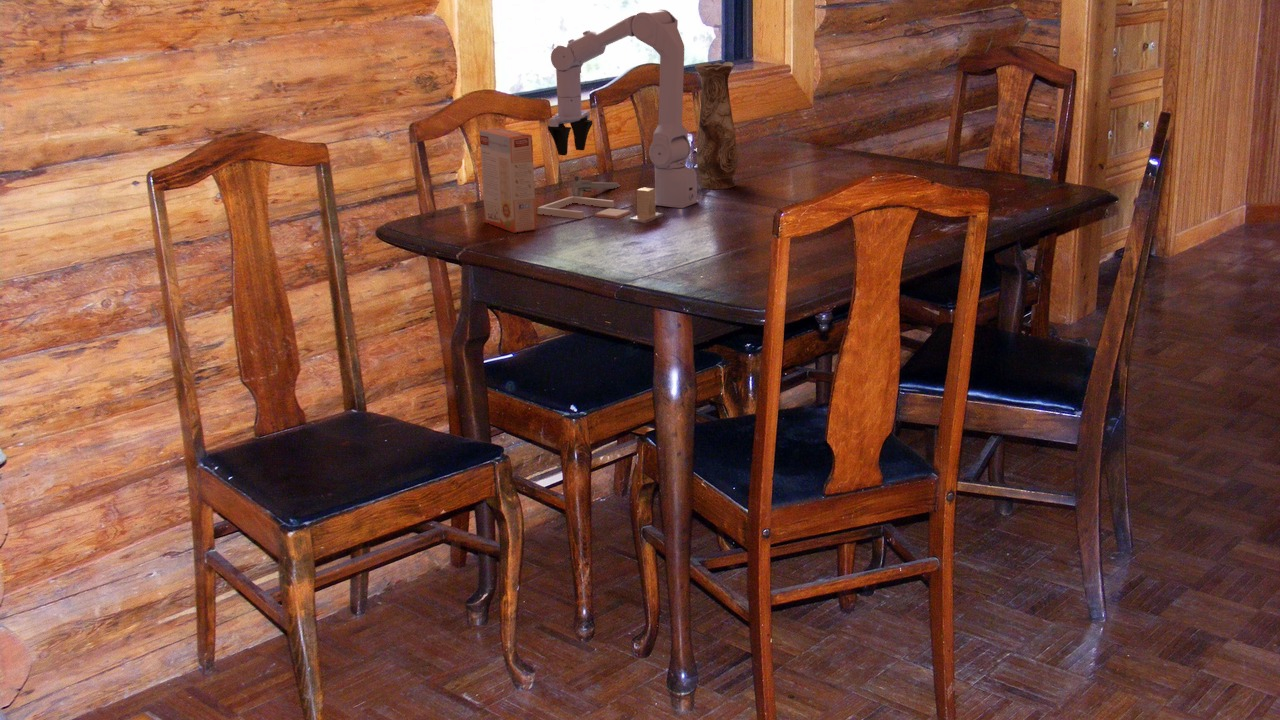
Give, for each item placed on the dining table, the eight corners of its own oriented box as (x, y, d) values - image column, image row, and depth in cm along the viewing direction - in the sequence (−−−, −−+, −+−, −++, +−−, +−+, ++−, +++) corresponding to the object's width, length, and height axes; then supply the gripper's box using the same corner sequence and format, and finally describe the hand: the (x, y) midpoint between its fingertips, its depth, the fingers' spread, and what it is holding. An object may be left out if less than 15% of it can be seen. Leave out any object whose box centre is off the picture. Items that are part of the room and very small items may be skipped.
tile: (630, 215, 290) (630, 210, 290) (617, 221, 285) (616, 216, 285) (608, 213, 293) (608, 207, 293) (594, 218, 288) (594, 213, 288)
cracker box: (538, 230, 276) (533, 134, 269) (513, 234, 273) (508, 137, 266) (507, 219, 287) (502, 126, 280) (483, 222, 284) (478, 129, 277)
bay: (614, 207, 297) (614, 200, 296) (581, 219, 285) (580, 212, 285) (572, 202, 303) (571, 196, 302) (537, 213, 291) (537, 207, 291)
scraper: (663, 216, 287) (662, 186, 285) (645, 223, 280) (644, 193, 278) (648, 214, 289) (647, 185, 287) (629, 221, 282) (628, 191, 280)
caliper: (576, 203, 303) (575, 177, 301) (572, 202, 304) (571, 176, 302) (621, 187, 320) (620, 162, 318) (617, 187, 320) (616, 162, 318)
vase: (739, 189, 312) (739, 65, 303) (695, 190, 313) (695, 66, 303) (736, 181, 322) (737, 61, 312) (694, 182, 322) (694, 62, 313)
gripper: (572, 91, 313) (574, 146, 317) (538, 99, 301) (540, 156, 306) (596, 93, 309) (598, 148, 314) (562, 100, 298) (564, 158, 302)
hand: (571, 152), depth 309 cm, fingers open, 7 cm apart
